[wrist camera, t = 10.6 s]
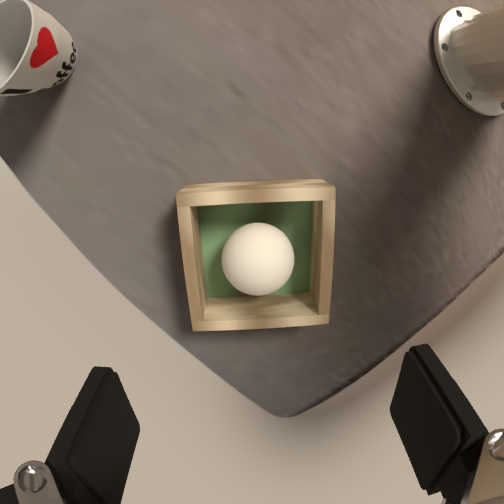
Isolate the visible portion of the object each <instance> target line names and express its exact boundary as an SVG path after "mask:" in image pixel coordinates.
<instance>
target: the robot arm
mask: <svg viewBox="0 0 504 504" xmlns="http://www.w3.org/2000/svg"><path fill="white" fill-rule="evenodd" d="M433 40H434V50H435V55H436V59H437V63H438V65H439V68H440V71H441V73H442V75H443V77H444V79H445V81H446V83H447V84H448V86H449V88H450V89H451V91H452V92H453V93H454V94H455V96H456V97H457V98H458V99H459V100H460V101H461V102H462V103H463V104H464V105H465V106H466V107H467V108H469V109H471V110H472V111H474V112H476V113H479V114H481V115H487V116H498V115H501V114H504V5H503V6H500V7H497V8H494V9H491V10H488V11H485V12H483V13H481V12H479V11H477V10H475V9H473V8H469V7H462V6H459V7H455V8H452V9H450V10H447V11H446V12H444V13H443V14H442V15H441V16H440V18H439V19H438V21H437V23H436V26H435V29H434V39H433ZM390 413H391V417H392V419H393V421H394V424H395V426H396V428H397V430H398V433H399V435H400V438H401V440H402V442H403V445H404V447H405V449H406V452H407V454H408V457H409V459H410V461H411V464H412V467H413V469H414V472H415V474H416V477H417V479H418V482H419V484H420V487H421V488H422V489H423V490H425V489H426V491H427V493H428V495H431V494H434V493H437V492H439V491H441V493H442V496H443V501H442V503H441V504H504V429H497V430H494V431H492V432H490V433H489V432H488V431H487V429H486V427H485V426H484V424H483V423H482V421H481V419H480V418H479V416H478V415H477V413H476V412H475V410H474V409H473V407H472V406H471V404H470V403H469V401H468V399H467V398H466V396H465V395H464V393H463V392H462V390H461V389H460V388H459V386H458V385H457V383H456V382H455V380H454V379H453V378H452V377H451V375H450V374H449V372H448V371H447V370H446V368H445V367H444V365H443V364H442V363H441V361H440V360H439V358H438V357H437V356H436V354H435V353H434V351H433V350H432V349H431V347H430V346H429V345H428V344H422V345H417V346H412V347H411V348H410V349H409V352H406V353H405V356H404V359H403V363H402V367H401V371H400V375H399V378H398V383H397V385H396V389H395V393H394V396H393V399H392V402H391V406H390ZM139 432H140V426H139V422H138V420H137V418H136V416H135V414H134V411H133V409H132V407H131V405H130V403H129V400H128V398H127V395H126V393H125V391H124V389H123V386H122V383H121V381H120V379H119V376H118V374H117V373H116V372H113V370H112V369H111V368H110V367H96V366H95V367H93V369H92V370H91V372H90V374H89V376H88V378H87V379H86V381H85V383H84V385H83V387H82V389H81V391H80V392H79V394H78V396H77V398H76V400H75V402H74V404H73V406H72V407H71V409H70V411H69V413H68V415H67V417H66V419H65V421H64V423H63V426H62V427H61V429H60V431H59V433H58V435H57V437H56V440H55V442H54V444H53V446H52V448H51V450H50V452H49V455H48V457H47V459H46V461H45V463H43V462H40V461H28V462H25V463H23V464H22V465H21V466H20V467H18V469H17V470H16V472H15V475H14V484H12V485H9V486H7V487H4V488H1V489H0V504H121V499H122V495H123V492H124V488H125V484H126V480H127V476H128V473H129V469H130V465H131V461H132V458H133V454H134V451H135V447H136V443H137V440H138V436H139Z"/></svg>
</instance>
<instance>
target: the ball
mask: <svg viewBox="0 0 504 504" xmlns="http://www.w3.org/2000/svg"><path fill="white" fill-rule="evenodd" d="M221 259H222V268H223V271H224V274H225V276H226V278H227V279H228V281H229V282H230V283H231V284H232V285H233V286H234V287H235V288H236V289H238V290H239V291H241V292H243V293H246V294H249V295H255V296H260V295H267V294H270V293H272V292H274V291H276V290H278V289H279V288H281V287H282V286H283V285H284V284H285V283H286V282H287V280H288V279H289V277H290V275H291V273H292V270H293V266H294V252H293V248H292V245H291V243H290V241H289V239H288V238H287V237H286V235H285V234H284V233H283V232H282V231H280V230H279V229H278V228H276V227H274V226H272V225H269V224H266V223H250V224H246V225H244V226H242V227H240V228H238V229H237V230H235V231H234V232H233V233H232V234H231V235H230V236H229V238H228V239H227V241H226V242H225V245H224V247H223V250H222V257H221Z"/></svg>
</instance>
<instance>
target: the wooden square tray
mask: <svg viewBox="0 0 504 504" xmlns="http://www.w3.org/2000/svg"><path fill="white" fill-rule="evenodd" d="M335 199H336V187H334V186H333V185H331V184H329V183H328V182H326V181H324V180H322V179H299V180H266V181H243V182H224V183H208V184H194V185H185V186H184V187H183V188H182V189H181V190H180V191H179V192H178V193H177V194H176V204H177V214H178V223H179V232H180V241H181V249H182V258H183V266H184V273H185V281H186V288H187V295H188V302H189V309H190V315H191V322H192V328H193V331H220V330H245V329H264V328H280V327H295V326H308V325H320V324H329V315H330V303H331V289H332V274H333V256H334V234H335ZM250 223H266V224H269V225H272V226H274V227H276V228H278V229H279V230H280V231H282V232H283V233H284V234H285V235H286V237H287V238H288V239H289V241H290V243H291V245H292V248H293V252H294V266H293V270H292V273H291V275H290V277H289V279H288V280H287V282H286V283H285V284H284V285H283V286H282V287H281V288H279V289H278V290H276V291H274V292H272V293H270V294H267V295H260V296H255V295H249V294H246V293H243V292H241V291H239V290H238V289H236V288H235V287H234V286H233V285H232V284H231V283H230V282H229V281H228V279H227V278H226V276H225V274H224V271H223V268H222V259H221V257H222V250H223V247H224V245H225V242H226V241H227V239H228V238H229V236H230V235H231V234H232V233H233V232H234V231H235V230H237V229H238V228H240V227H242V226H244V225H246V224H250Z"/></svg>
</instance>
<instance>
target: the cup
mask: <svg viewBox="0 0 504 504" xmlns="http://www.w3.org/2000/svg"><path fill="white" fill-rule="evenodd" d="M77 59H78V51H77V47H76V45H75V43H74V42H73V40H72V38H71V36H70V34H69V33H68V32H67V31H66V30H65V29H64V28H63V27H62V26H61V25H60V24H59V23H58V22H57V21H56V20H55V19H54V18H53V17H52V16H51V15H50V14H48V13H47V12H45V11H44V10H42V9H41V8H39V7H37V6H36V5H34V4H33V3H31V2H30V1H28V0H2V1H0V96H16V95H21V94H27V93H33V92H39V91H43V90H45V89H48V88H51V87H53V86H56V85H58V84H60V83H62V82H64V81H65V80H66V79H67V78H68V77H69V76H70V75H71V73H72V72H73V70H74V68H75V66H76V63H77Z"/></svg>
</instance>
